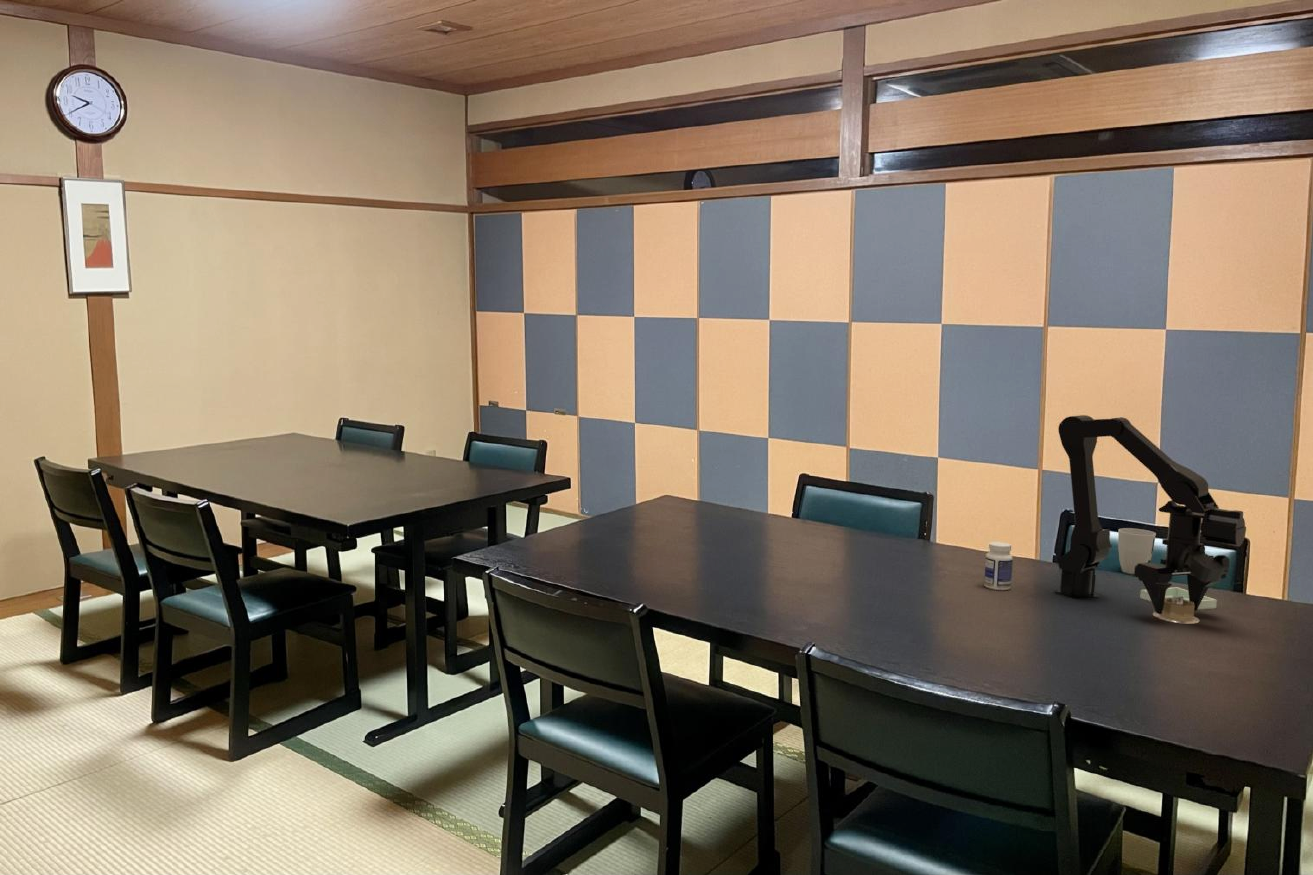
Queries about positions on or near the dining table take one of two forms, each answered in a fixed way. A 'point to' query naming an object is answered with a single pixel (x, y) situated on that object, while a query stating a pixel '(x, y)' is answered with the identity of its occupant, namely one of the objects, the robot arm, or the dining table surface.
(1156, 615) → the clear stemmed base
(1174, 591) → the dish
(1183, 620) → the ring
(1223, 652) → the dining table surface
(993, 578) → the pill bottle
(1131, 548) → the cup
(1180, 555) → the robot arm
